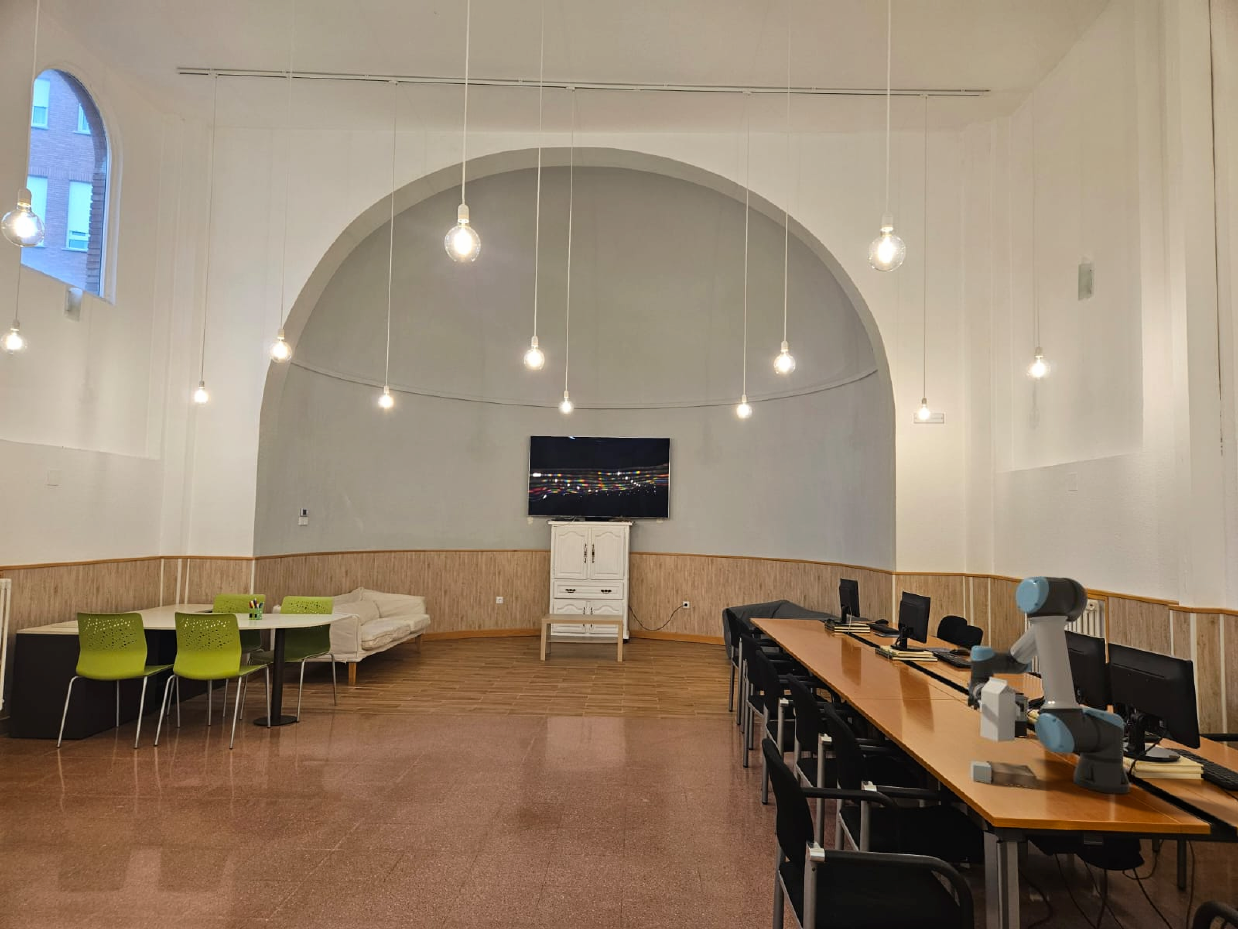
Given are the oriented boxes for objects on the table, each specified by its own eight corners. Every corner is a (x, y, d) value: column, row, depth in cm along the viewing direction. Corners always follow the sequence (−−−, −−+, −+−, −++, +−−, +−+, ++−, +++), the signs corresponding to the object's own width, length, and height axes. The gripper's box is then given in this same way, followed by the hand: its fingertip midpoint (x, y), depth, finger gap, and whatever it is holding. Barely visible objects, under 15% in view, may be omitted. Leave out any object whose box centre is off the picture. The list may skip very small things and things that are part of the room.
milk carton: (997, 742, 260) (999, 681, 262) (980, 736, 267) (981, 677, 268) (1014, 741, 263) (1015, 680, 264) (996, 735, 270) (997, 676, 271)
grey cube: (987, 779, 259) (987, 762, 259) (990, 783, 254) (990, 767, 255) (970, 777, 260) (970, 760, 261) (973, 781, 256) (973, 765, 256)
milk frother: (1029, 734, 321) (1030, 696, 322) (1025, 743, 308) (1026, 702, 309) (989, 728, 329) (990, 690, 330) (983, 736, 315) (984, 696, 316)
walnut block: (1026, 778, 263) (1027, 765, 263) (1036, 789, 252) (1036, 776, 252) (986, 773, 266) (986, 761, 266) (993, 784, 254) (994, 771, 255)
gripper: (1022, 711, 280) (1039, 726, 258) (951, 704, 285) (962, 718, 264) (1022, 688, 281) (1039, 701, 259) (952, 682, 286) (963, 694, 264)
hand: (1000, 710), depth 261 cm, fingers closed on milk carton, 10 cm apart
